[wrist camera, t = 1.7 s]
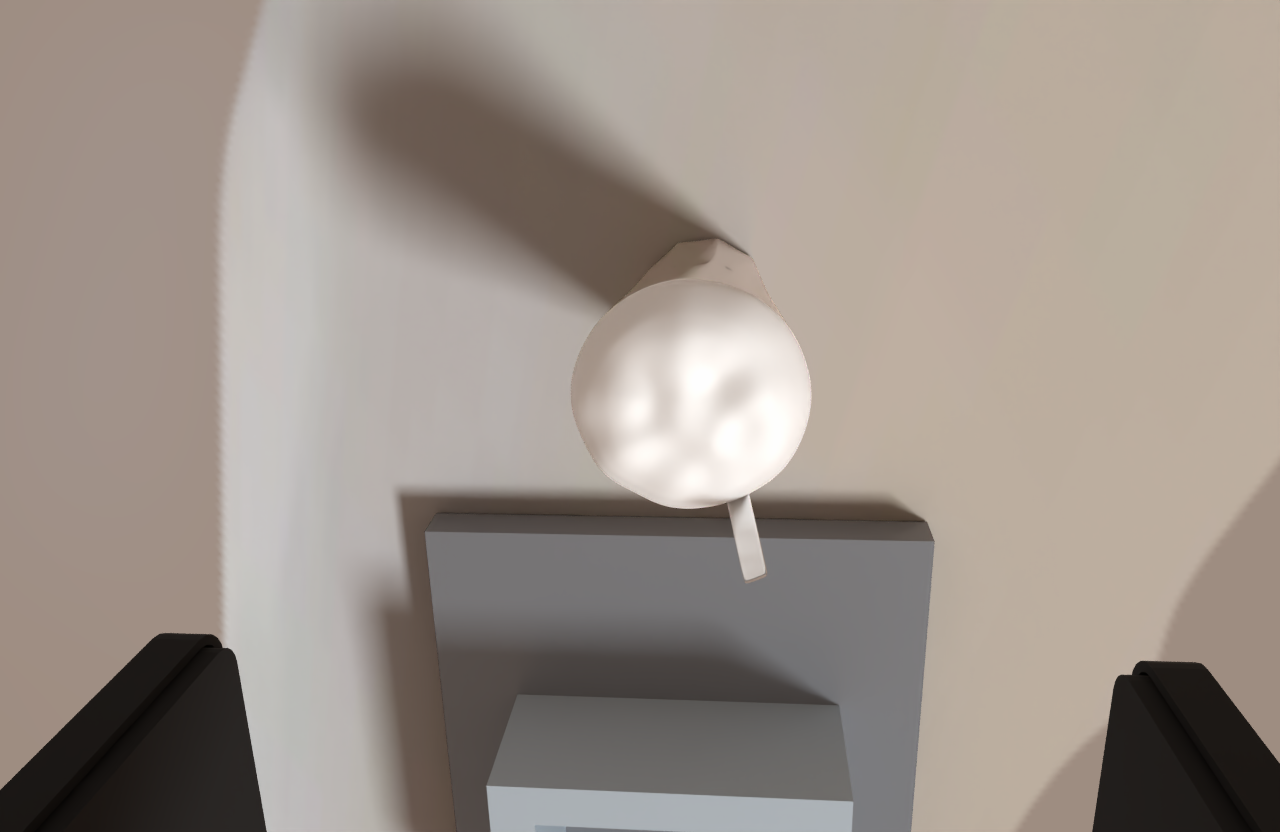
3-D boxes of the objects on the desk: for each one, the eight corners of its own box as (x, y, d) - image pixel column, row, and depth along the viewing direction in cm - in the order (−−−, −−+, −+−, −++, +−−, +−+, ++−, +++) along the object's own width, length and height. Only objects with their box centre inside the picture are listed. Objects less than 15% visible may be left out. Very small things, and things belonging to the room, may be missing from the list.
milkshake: (674, 431, 29) (642, 621, 19) (590, 255, 27) (510, 369, 18) (829, 368, 28) (874, 538, 18) (750, 182, 26) (755, 262, 17)
